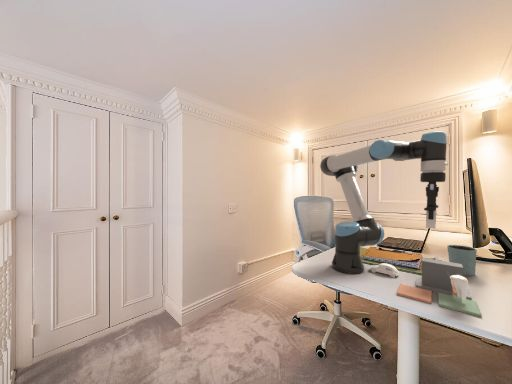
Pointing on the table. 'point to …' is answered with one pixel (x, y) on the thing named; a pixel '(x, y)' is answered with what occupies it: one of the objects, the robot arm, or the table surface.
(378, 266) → the car
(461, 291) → the milkshake
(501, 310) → the table surface
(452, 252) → the teal cup
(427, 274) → the block
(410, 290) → the pad terracotta
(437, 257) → the electrical switch
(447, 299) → the pad sage
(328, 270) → the table surface
